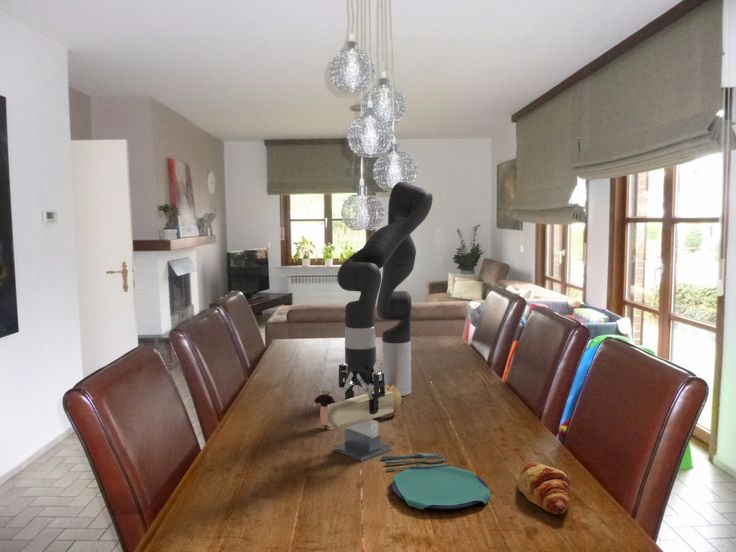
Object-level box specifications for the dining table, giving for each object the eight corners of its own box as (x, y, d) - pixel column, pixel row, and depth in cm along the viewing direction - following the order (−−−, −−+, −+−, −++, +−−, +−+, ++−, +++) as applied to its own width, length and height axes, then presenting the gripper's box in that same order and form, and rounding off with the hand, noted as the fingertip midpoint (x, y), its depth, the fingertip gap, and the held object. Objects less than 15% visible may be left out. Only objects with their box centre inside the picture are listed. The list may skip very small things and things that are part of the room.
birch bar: (327, 425, 142) (327, 404, 142) (382, 408, 154) (382, 389, 154) (338, 429, 139) (338, 408, 139) (393, 411, 151) (393, 392, 151)
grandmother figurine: (341, 426, 165) (340, 381, 164) (336, 431, 161) (335, 384, 160) (316, 423, 167) (315, 379, 166) (310, 428, 164) (309, 382, 162)
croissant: (516, 489, 133) (499, 459, 132) (556, 467, 133) (539, 437, 132) (548, 538, 112) (528, 502, 111) (595, 512, 112) (575, 476, 111)
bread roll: (399, 403, 184) (399, 378, 184) (403, 420, 169) (402, 392, 169) (368, 404, 184) (367, 379, 183) (369, 420, 169) (368, 393, 169)
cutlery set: (405, 521, 113) (405, 509, 113) (373, 461, 142) (373, 452, 142) (504, 511, 117) (504, 500, 116) (453, 455, 146) (453, 446, 146)
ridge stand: (333, 450, 148) (333, 418, 147) (363, 439, 155) (363, 409, 154) (361, 461, 141) (360, 428, 140) (391, 449, 147) (390, 418, 147)
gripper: (392, 346, 142) (393, 412, 144) (352, 338, 153) (353, 400, 154) (369, 351, 137) (370, 420, 139) (329, 342, 148) (331, 406, 149)
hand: (361, 409), depth 147 cm, fingers open, 8 cm apart
